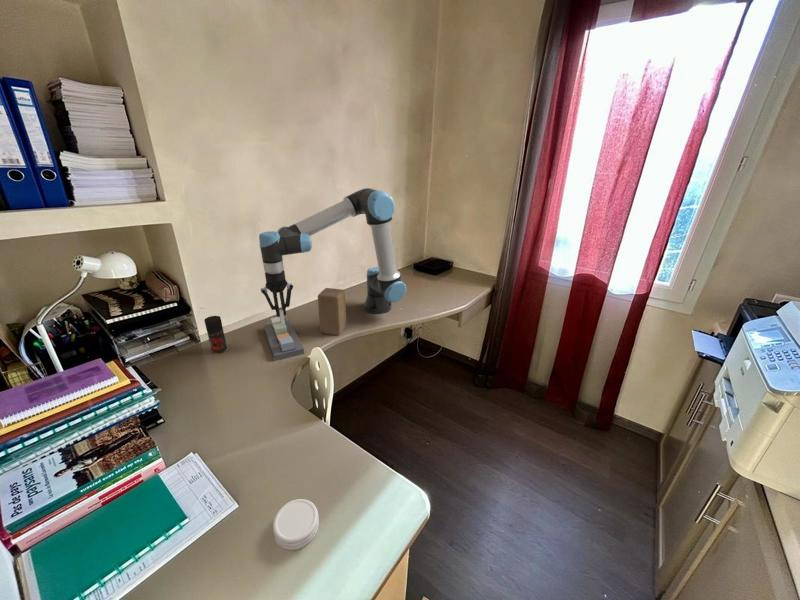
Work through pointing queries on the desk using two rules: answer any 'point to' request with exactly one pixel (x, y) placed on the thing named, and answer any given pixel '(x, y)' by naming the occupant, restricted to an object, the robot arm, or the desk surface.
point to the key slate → (286, 343)
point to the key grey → (275, 321)
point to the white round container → (296, 524)
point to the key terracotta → (282, 336)
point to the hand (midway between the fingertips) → (282, 322)
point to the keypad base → (276, 347)
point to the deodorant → (215, 334)
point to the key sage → (280, 329)
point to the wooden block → (332, 311)
